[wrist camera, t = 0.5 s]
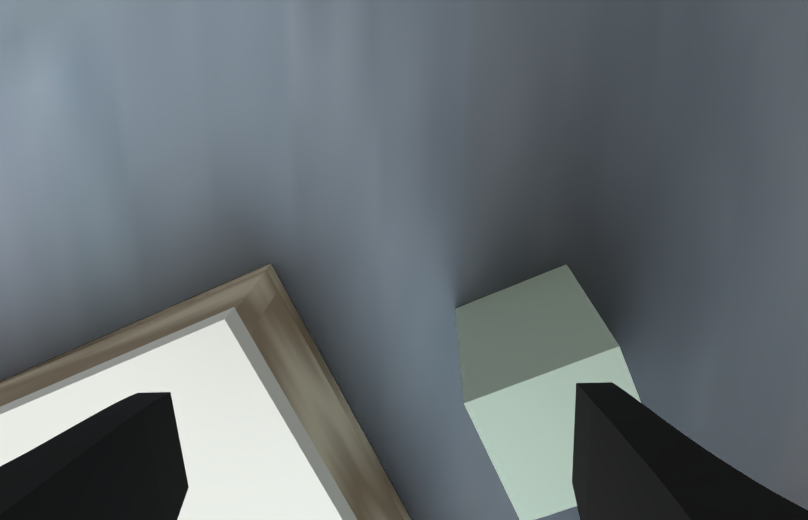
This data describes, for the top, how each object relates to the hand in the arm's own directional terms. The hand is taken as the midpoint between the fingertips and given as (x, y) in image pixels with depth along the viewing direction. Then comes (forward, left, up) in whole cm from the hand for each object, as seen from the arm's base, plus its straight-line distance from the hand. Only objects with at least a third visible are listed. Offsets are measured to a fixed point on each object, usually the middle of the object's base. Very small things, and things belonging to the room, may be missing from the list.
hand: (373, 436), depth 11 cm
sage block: (-4, -3, -10) cm, 11 cm away
